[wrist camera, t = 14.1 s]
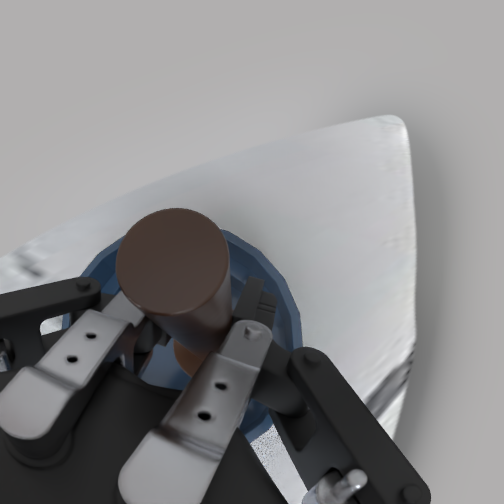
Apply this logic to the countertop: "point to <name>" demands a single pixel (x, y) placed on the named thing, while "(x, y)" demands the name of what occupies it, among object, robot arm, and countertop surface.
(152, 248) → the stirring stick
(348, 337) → the countertop surface
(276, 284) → the mixing bowl
